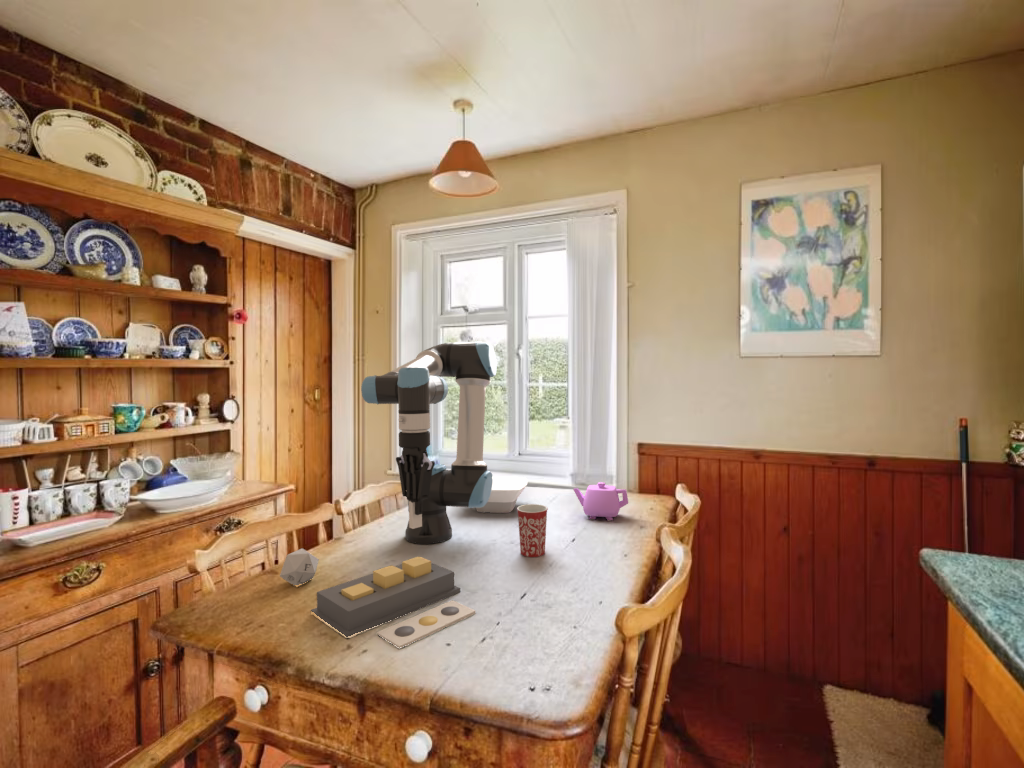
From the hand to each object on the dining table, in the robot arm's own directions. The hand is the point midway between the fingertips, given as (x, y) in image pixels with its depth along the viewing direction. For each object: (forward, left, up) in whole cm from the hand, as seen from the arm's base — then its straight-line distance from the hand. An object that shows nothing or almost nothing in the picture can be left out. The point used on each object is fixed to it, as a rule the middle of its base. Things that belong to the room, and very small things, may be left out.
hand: (415, 526), depth 124 cm
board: (0, -8, -16) cm, 18 cm away
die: (-27, -17, -16) cm, 36 cm away
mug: (+3, +41, -16) cm, 44 cm away
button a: (0, -16, -14) cm, 21 cm away
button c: (0, 0, -13) cm, 13 cm away
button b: (0, -8, -13) cm, 15 cm away
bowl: (-41, +68, -16) cm, 81 cm away
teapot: (-3, +85, -16) cm, 87 cm away
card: (+15, -8, -16) cm, 23 cm away
